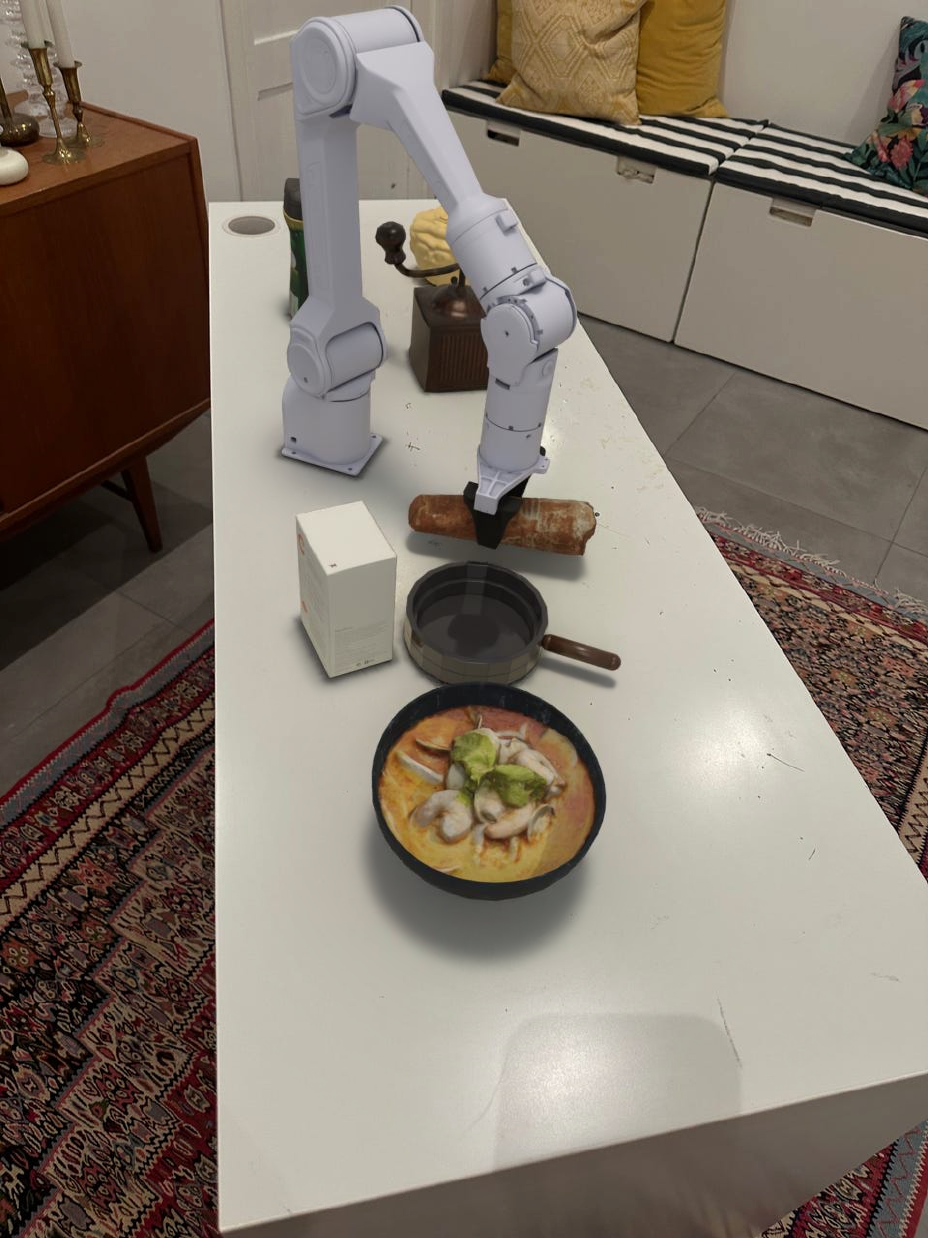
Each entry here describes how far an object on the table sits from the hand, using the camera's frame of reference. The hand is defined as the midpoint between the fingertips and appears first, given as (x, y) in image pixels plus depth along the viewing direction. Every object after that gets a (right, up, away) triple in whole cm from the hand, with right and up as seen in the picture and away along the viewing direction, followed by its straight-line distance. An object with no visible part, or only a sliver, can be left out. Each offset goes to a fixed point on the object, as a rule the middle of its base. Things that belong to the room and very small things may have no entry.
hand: (497, 525), depth 90 cm
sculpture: (-6, +43, +45) cm, 62 cm away
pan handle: (+7, -13, -10) cm, 18 cm away
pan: (-3, -12, -7) cm, 14 cm away
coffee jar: (-23, +33, +33) cm, 52 cm away
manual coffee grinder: (-7, +24, +26) cm, 36 cm away
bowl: (-2, -27, -21) cm, 34 cm away
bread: (0, -2, +1) cm, 2 cm away
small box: (-15, -12, -8) cm, 20 cm away
